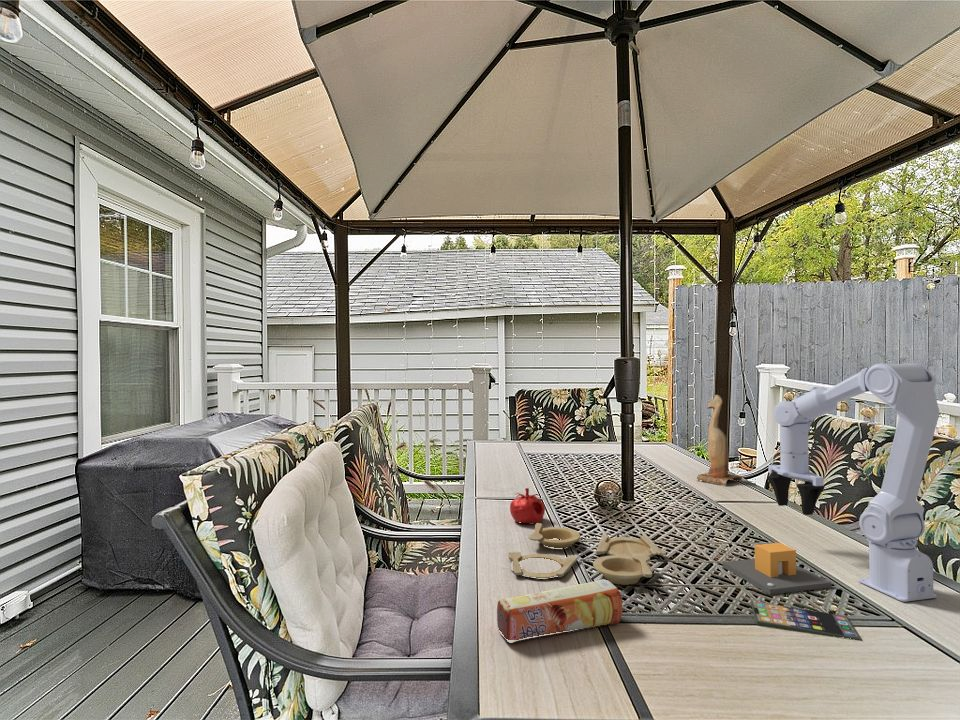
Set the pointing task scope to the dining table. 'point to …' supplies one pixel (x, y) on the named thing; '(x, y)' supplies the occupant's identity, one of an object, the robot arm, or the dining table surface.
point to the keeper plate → (777, 578)
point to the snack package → (559, 610)
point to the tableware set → (616, 568)
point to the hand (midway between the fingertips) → (794, 509)
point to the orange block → (775, 559)
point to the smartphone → (803, 620)
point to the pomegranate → (527, 508)
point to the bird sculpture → (717, 449)
